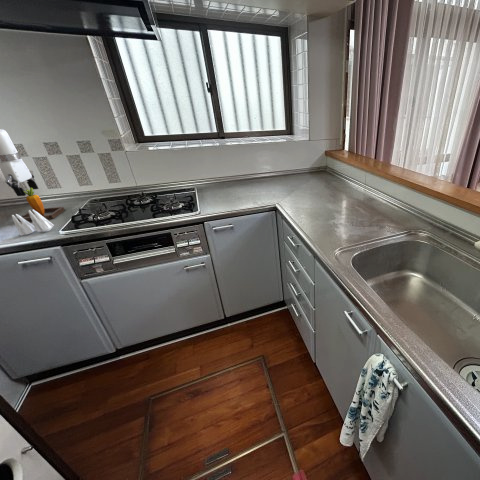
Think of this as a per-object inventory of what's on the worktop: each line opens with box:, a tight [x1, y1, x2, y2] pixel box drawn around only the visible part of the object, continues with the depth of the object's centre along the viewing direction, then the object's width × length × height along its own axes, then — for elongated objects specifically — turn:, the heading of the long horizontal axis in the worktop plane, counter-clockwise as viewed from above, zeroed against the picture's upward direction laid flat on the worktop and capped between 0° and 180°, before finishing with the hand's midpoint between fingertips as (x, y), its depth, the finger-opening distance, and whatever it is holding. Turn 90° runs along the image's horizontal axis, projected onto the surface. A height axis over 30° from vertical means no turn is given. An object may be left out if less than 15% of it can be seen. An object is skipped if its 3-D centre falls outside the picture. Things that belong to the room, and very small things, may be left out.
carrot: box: [24, 187, 46, 216], centre depth 136 cm, size 5×5×15 cm
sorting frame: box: [16, 206, 66, 223], centre depth 139 cm, size 14×12×2 cm
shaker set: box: [11, 209, 55, 237], centre depth 122 cm, size 12×4×11 cm, turn 107°
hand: (28, 192), depth 133 cm, fingers open, 9 cm apart
